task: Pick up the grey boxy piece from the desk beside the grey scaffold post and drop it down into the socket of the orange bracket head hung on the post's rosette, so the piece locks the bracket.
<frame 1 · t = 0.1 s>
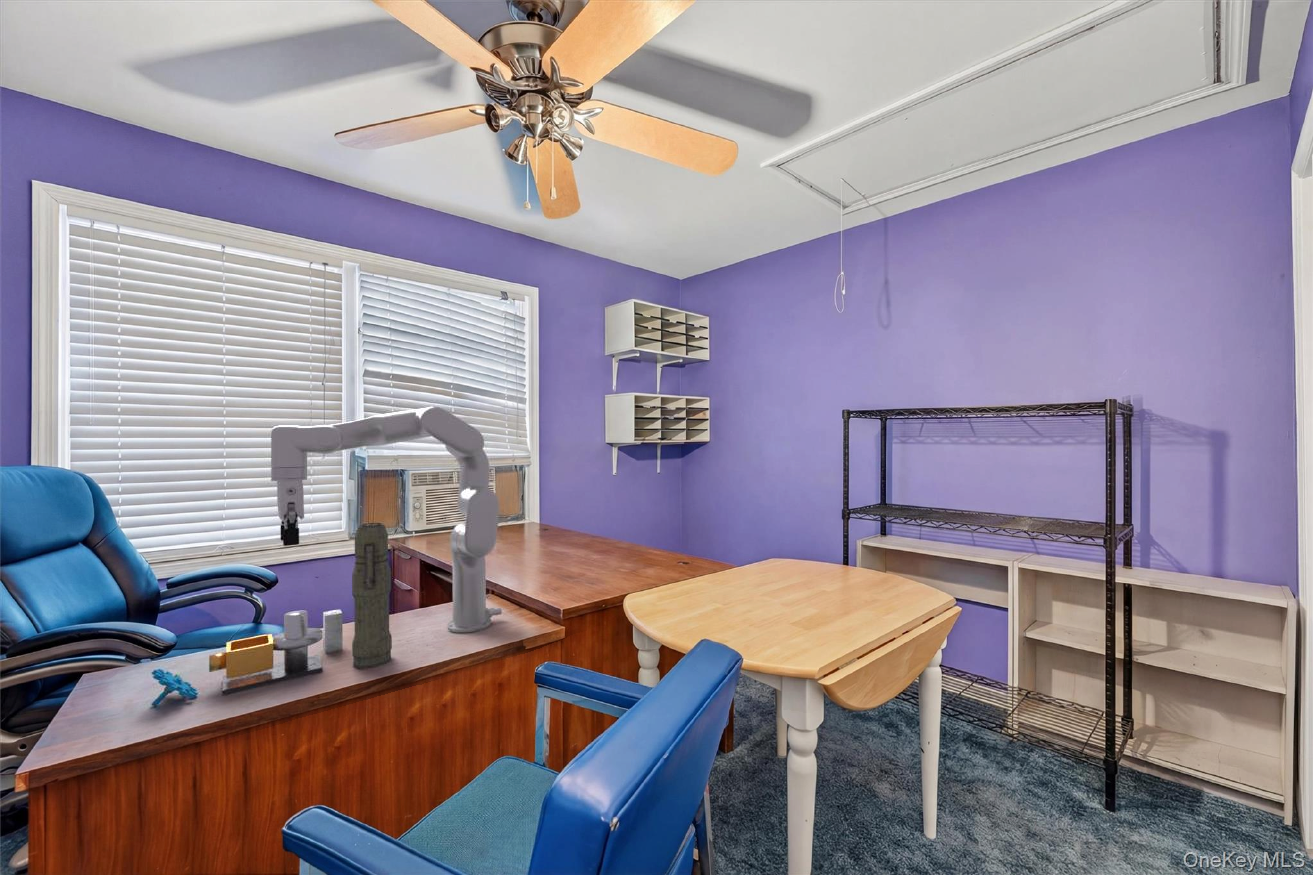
hand: (289, 542, 133), 31 cm above the table, tool pointing down, fingers open, 9 cm apart
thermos: (372, 661, 135), on the table
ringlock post: (296, 670, 130), on the table
grey boxy piece: (332, 649, 144), on the table
blue lobed piece: (175, 701, 116), on the table
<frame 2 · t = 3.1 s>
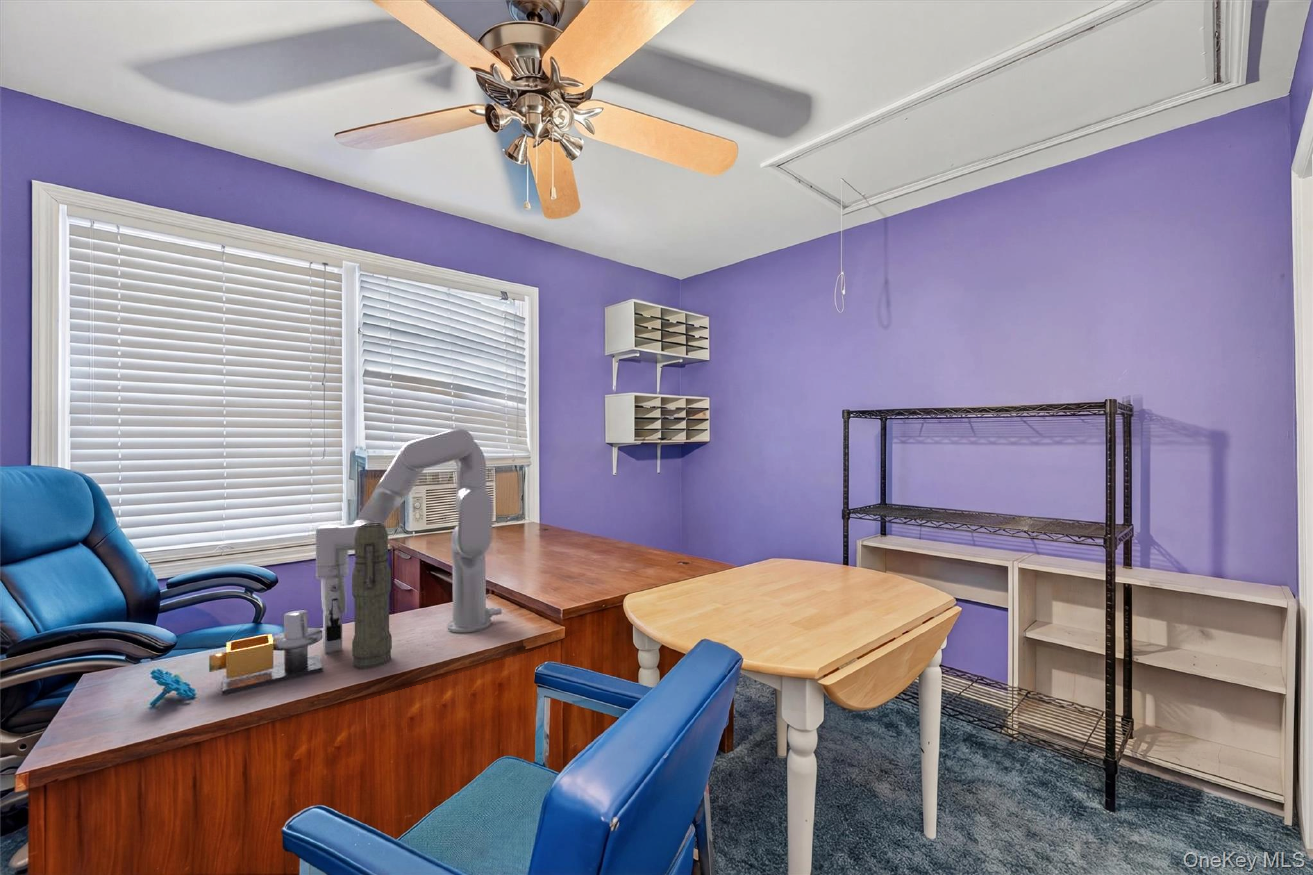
hand: (332, 637, 144), 3 cm above the table, tool pointing down, fingers closed on grey boxy piece, 3 cm apart
grey boxy piece: (332, 649, 144), on the table, touching gripper
everything else where it was.
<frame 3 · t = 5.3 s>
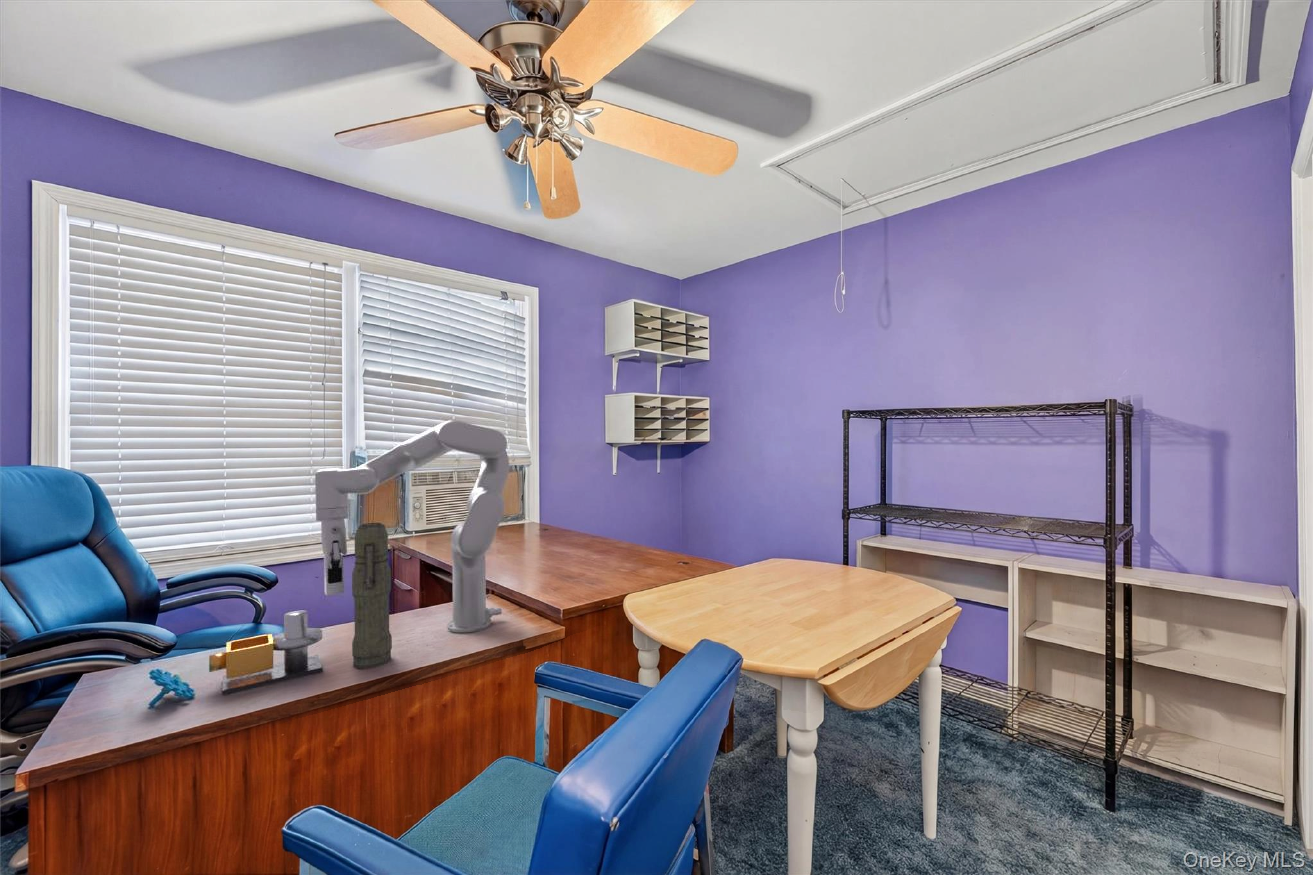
hand: (333, 580, 144), 19 cm above the table, tool pointing down, fingers closed on grey boxy piece, 3 cm apart
grey boxy piece: (334, 592, 144), point 15 cm above the table, touching gripper
everything else where it was.
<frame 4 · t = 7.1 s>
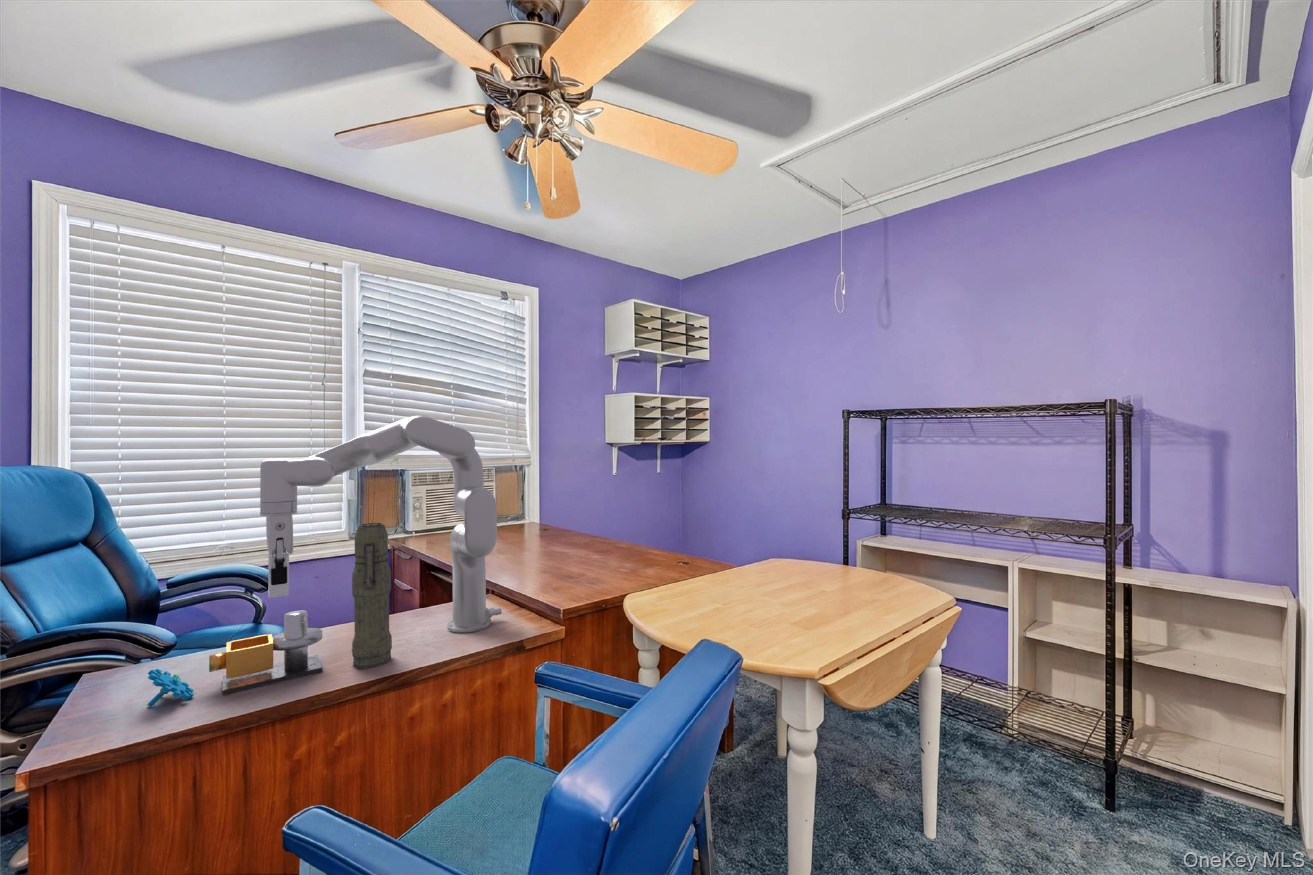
hand: (278, 581, 131), 22 cm above the table, tool pointing down, fingers closed on grey boxy piece, 3 cm apart
grey boxy piece: (278, 594, 131), point 18 cm above the table, touching gripper
everything else where it was.
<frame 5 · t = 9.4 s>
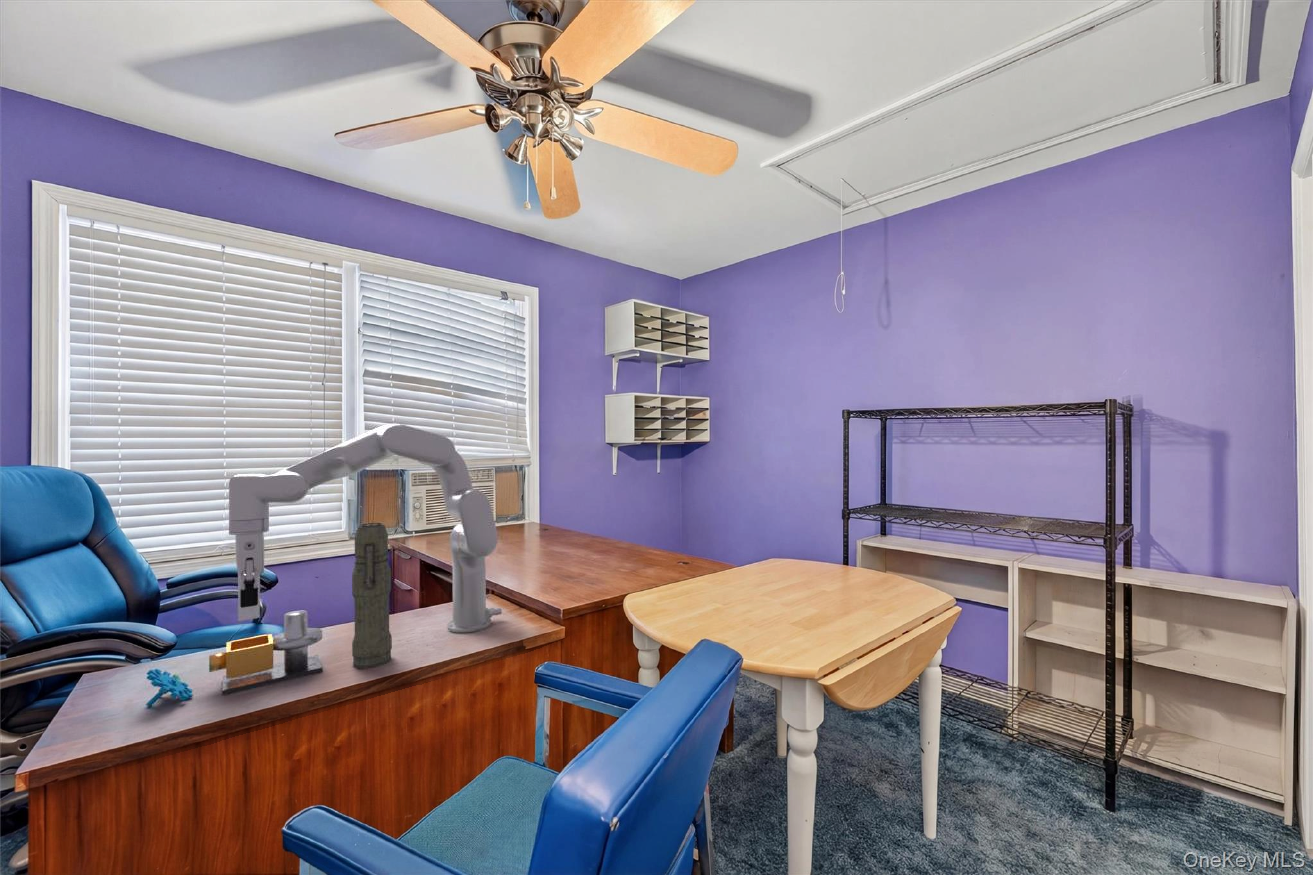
hand: (249, 603, 125), 18 cm above the table, tool pointing down, fingers closed on grey boxy piece, 3 cm apart
grey boxy piece: (248, 617, 125), point 15 cm above the table, touching gripper
everything else where it was.
when the fingers open (11 cm above the table, at t = 11.3 s): grey boxy piece drops 6 cm, resting on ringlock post.
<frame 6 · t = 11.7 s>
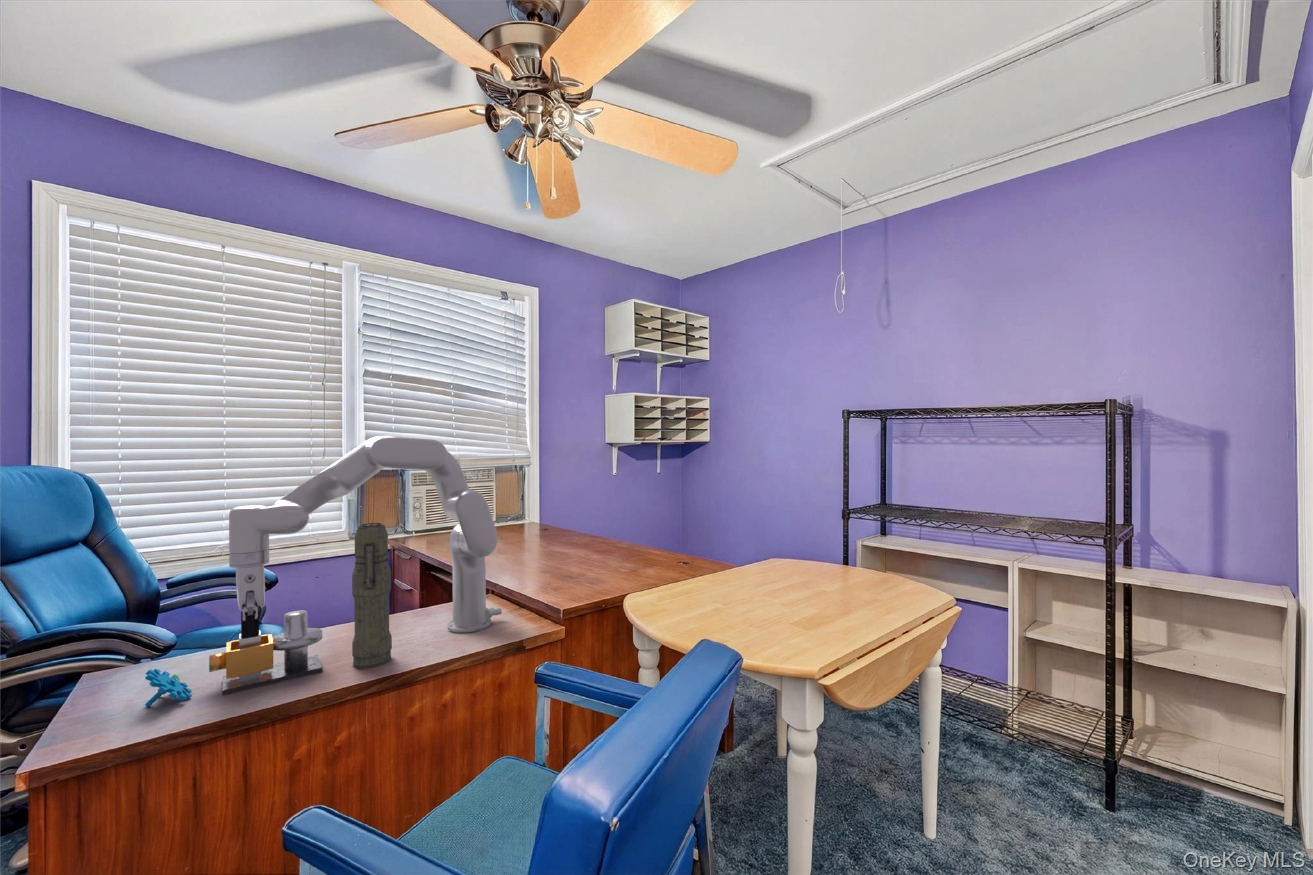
hand: (249, 631, 125), 12 cm above the table, tool pointing down, fingers open, 8 cm apart
grey boxy piece: (250, 676, 125), point 1 cm above the table, touching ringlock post
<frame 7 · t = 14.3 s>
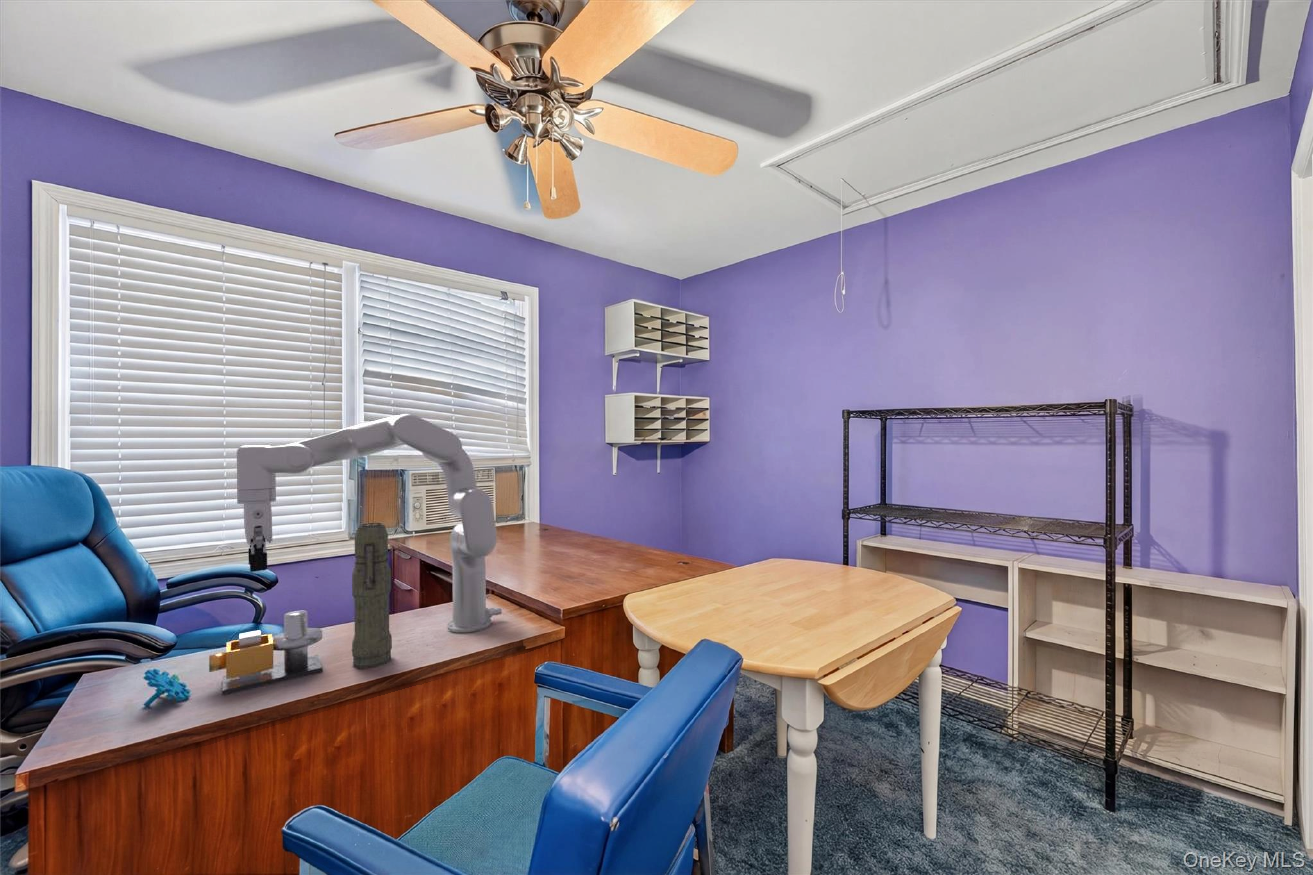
hand: (257, 567, 128), 26 cm above the table, tool pointing down, fingers open, 9 cm apart
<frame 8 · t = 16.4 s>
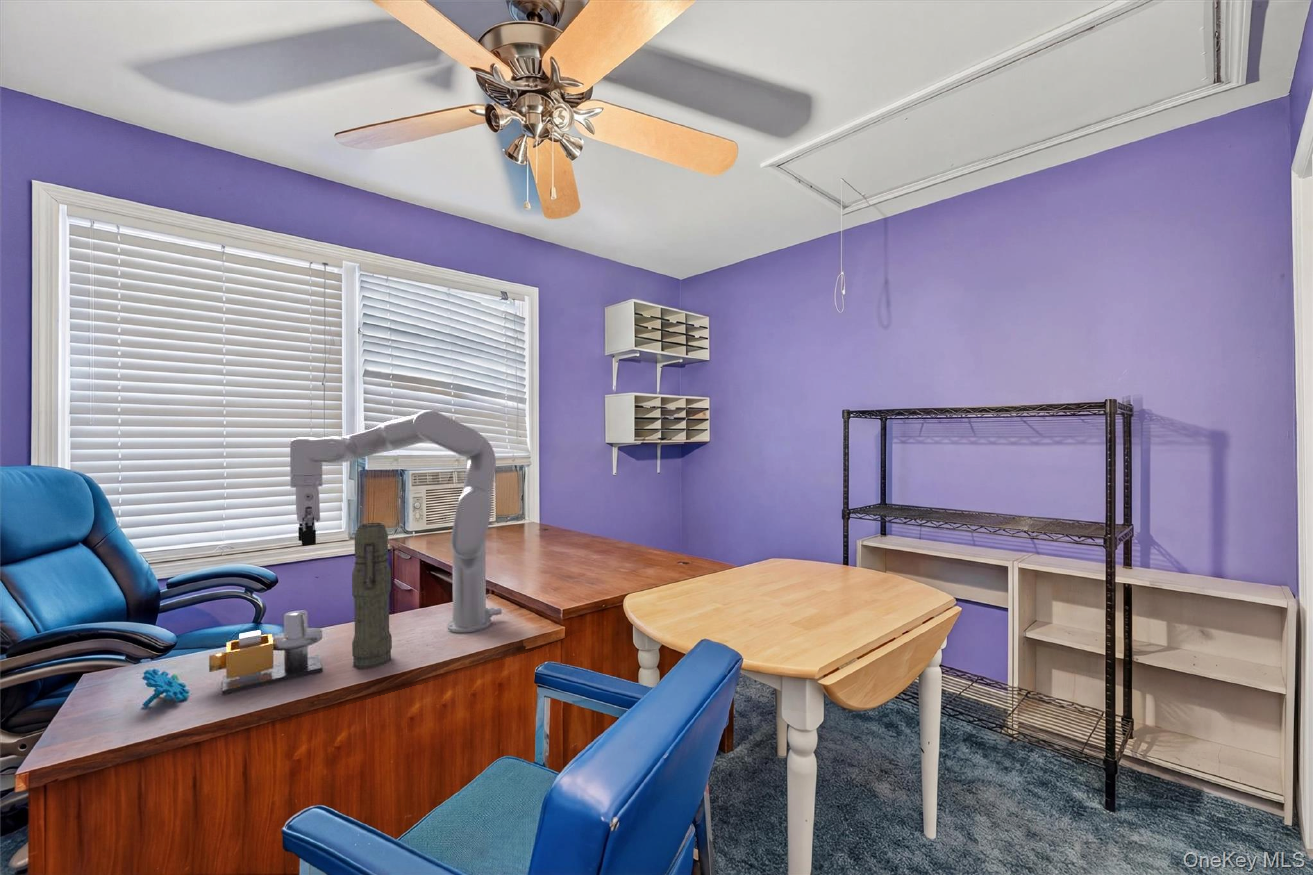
hand: (307, 542, 148), 28 cm above the table, tool pointing down, fingers open, 9 cm apart
at the end: grey boxy piece 0.0 cm from the target spot on the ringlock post, point 1.0 cm above the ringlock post's base; grey boxy piece tilted 0°; the gripper is holding nothing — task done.
